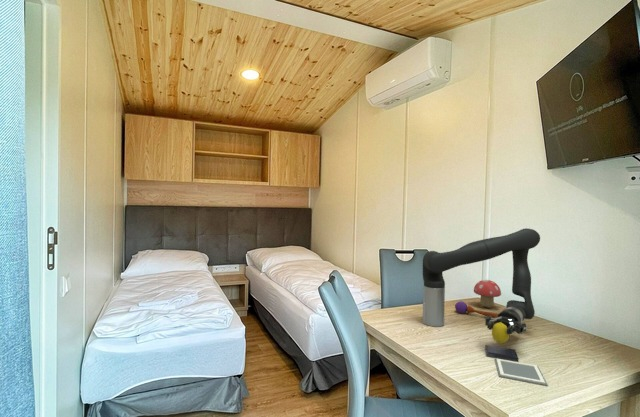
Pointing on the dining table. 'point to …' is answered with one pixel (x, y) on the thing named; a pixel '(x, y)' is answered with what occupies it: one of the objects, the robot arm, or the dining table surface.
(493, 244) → the robot arm
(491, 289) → the decorative mushroom
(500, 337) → the lemon
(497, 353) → the ink pad
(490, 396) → the dining table surface
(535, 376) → the marked board
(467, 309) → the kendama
